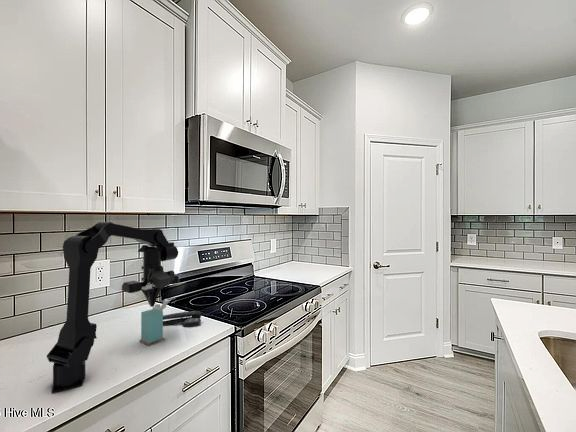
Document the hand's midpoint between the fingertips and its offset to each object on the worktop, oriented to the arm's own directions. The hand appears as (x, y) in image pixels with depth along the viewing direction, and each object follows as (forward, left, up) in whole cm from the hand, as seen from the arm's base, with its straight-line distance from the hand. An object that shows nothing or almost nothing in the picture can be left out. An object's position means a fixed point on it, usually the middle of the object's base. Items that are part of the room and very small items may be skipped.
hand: (152, 306), depth 105 cm
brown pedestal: (0, 0, -12) cm, 13 cm away
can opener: (+12, +11, -13) cm, 21 cm away
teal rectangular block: (0, 0, -12) cm, 12 cm away
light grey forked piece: (+7, +25, -13) cm, 29 cm away
